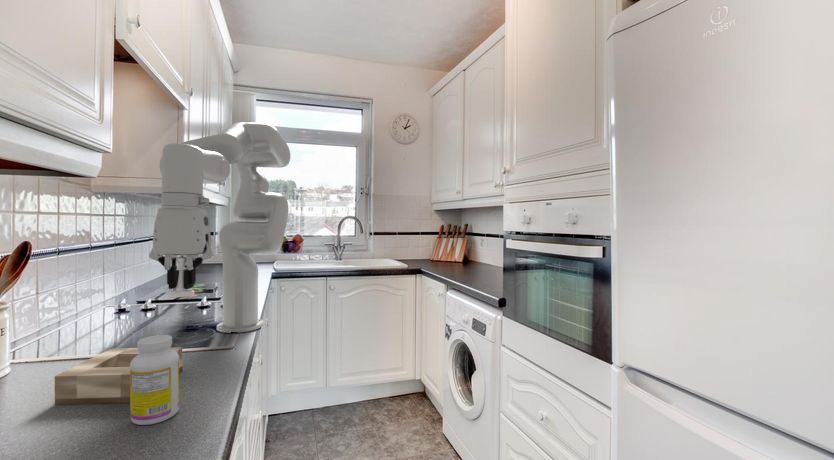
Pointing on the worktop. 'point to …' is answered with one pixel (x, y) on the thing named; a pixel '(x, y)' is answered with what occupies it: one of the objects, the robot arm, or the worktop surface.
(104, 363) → the socket block
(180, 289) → the chess piece
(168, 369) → the supplement bottle
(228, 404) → the worktop surface
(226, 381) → the worktop surface
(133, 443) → the worktop surface
